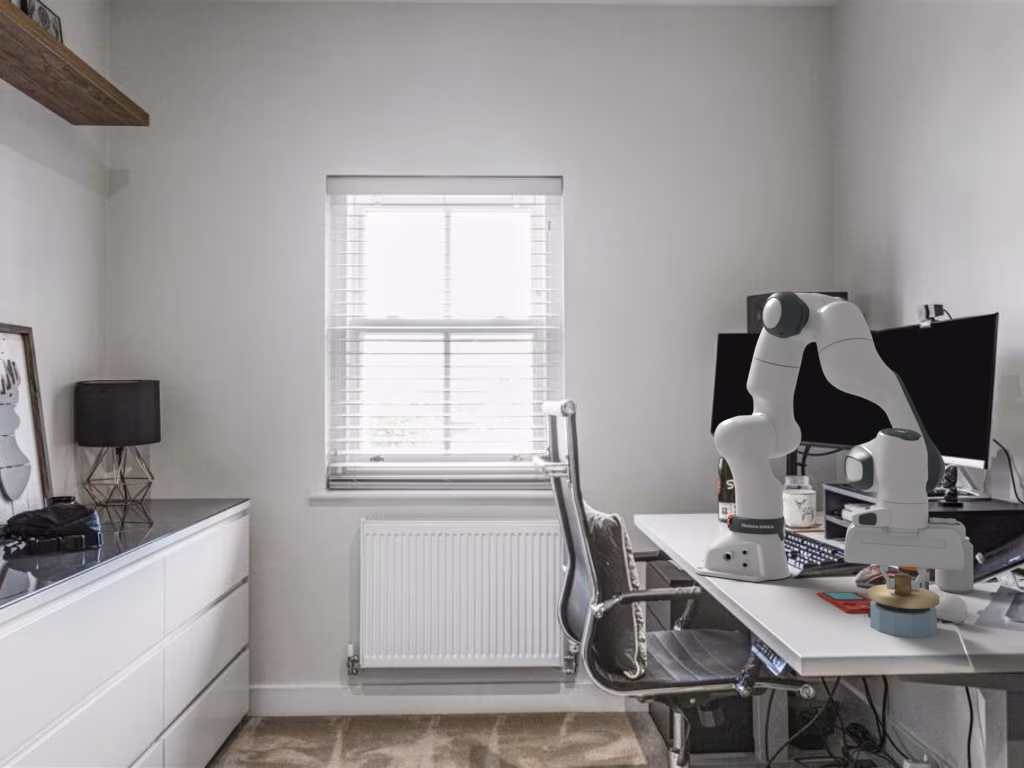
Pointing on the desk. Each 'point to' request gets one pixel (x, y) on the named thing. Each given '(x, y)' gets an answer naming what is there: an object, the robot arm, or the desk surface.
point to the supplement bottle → (915, 575)
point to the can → (958, 573)
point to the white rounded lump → (951, 608)
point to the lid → (903, 594)
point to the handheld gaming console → (847, 601)
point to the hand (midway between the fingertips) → (902, 589)
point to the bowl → (903, 620)
